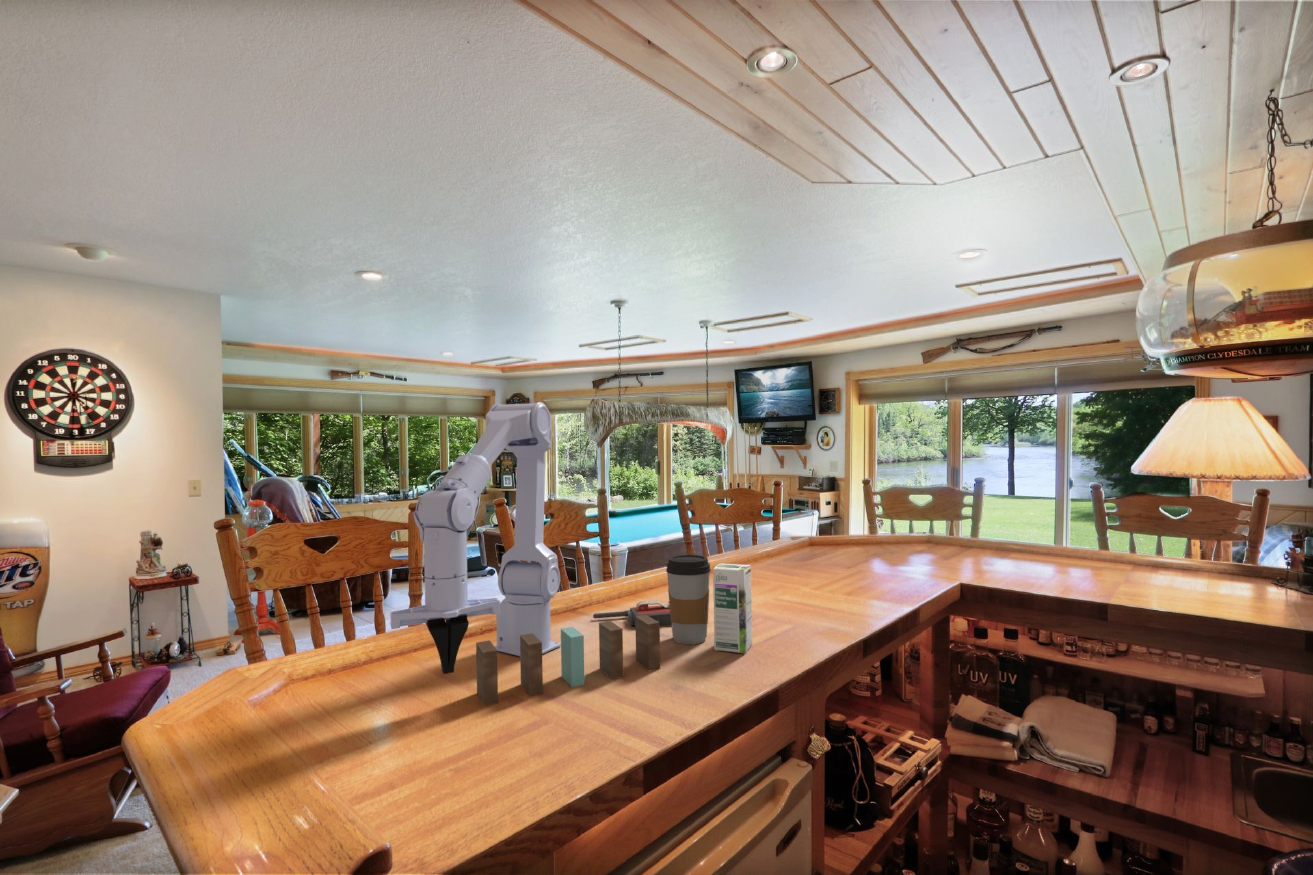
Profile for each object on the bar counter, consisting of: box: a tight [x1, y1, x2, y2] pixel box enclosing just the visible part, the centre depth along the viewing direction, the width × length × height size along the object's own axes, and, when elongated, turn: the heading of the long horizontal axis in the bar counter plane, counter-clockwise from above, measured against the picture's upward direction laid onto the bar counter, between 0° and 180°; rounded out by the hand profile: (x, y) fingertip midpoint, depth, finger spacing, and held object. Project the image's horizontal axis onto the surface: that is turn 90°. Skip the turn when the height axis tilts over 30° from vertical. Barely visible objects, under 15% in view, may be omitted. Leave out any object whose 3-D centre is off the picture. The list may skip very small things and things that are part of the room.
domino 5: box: [634, 615, 661, 672], centre depth 100 cm, size 2×5×8 cm, turn 27°
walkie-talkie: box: [592, 600, 672, 627], centre depth 124 cm, size 9×4×20 cm
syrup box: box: [712, 563, 753, 655], centre depth 108 cm, size 6×6×14 cm
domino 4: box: [598, 620, 624, 680], centre depth 97 cm, size 2×5×8 cm, turn 27°
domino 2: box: [519, 633, 544, 697], centre depth 91 cm, size 2×5×8 cm, turn 27°
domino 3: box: [560, 626, 585, 688], centre depth 94 cm, size 2×5×8 cm, turn 27°
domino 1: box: [475, 639, 499, 707], centre depth 88 cm, size 2×5×8 cm, turn 27°
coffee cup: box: [665, 554, 712, 645], centre depth 112 cm, size 8×8×15 cm
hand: (447, 671), depth 85 cm, fingers closed
